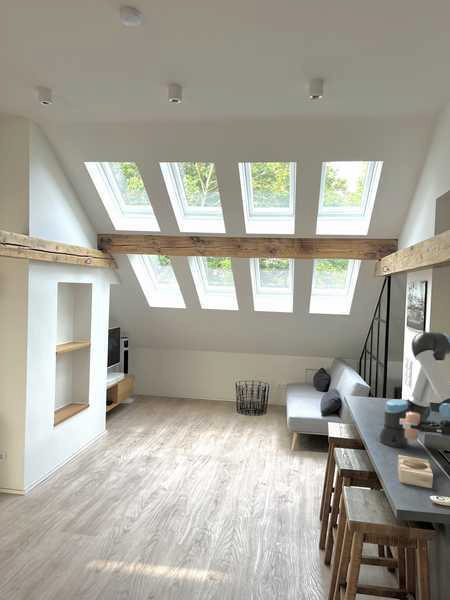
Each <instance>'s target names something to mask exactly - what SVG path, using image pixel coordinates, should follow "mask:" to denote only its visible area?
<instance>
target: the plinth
mask: <svg viewBox="0 0 450 600" xmlns="http://www.w3.org/2000/svg"><path fill="white" fill-rule="evenodd" d="M397 472H398V481H399V483H403V484H407V485H413V486H418V487H423V488H427V489H429V488H430V489H433V482H434V474H433V471H432V468H431V465H430V462H429V460H428V459H423V458H419V457H412V456H406V455H402V454H401V455H399V454H398V457H397Z"/></svg>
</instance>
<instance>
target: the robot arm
mask: <svg viewBox="0 0 450 600" xmlns="http://www.w3.org/2000/svg"><path fill="white" fill-rule="evenodd" d="M411 351H412V354H413V356H414V359H415V360H416V361H418V362H419V364H420V369H419V372H418V375H417V377H416V381H415V385H414V387H413V391H412V394H411V395H409V396H408V397H407V400H406V399H405V400H404V399H396V398H392V399H389V400H387V401H386V402H385V406H384V417H383V418H384V419H383V428H382V429H381V432H380V434H379V437H378V438H379V439H378V441H379V442H380V443H381V444H384V445H386V446H390V447H395V448H406V447H408V446H409V440H408V438H405V437H404V433H405V429H415V430H417V429H418V430H419V432H423V433H432V434H433V433H435V434H441V436H443V437H450V385H449V383H448V381H447V379H446V377H445V376H444V373H443V371H442V369H441V368H440V364H441V362H443V361H445V359H446V356H447V355H449V354H450V335H449V334H447V333H444V332H439V331H438V332H429V331H421V332H419V333H417V334H416V335H414V337H413V338H412V341H411ZM432 390H433V392H434V393H435V395H436V398H437V399H438V401H439V403H440V405H439V416H441V418H443V419H441V421H440V422H436V421H434V420H430V419H431V417H432V414H433V413H432V412H433V411H432V407H431V403H430V402H429V399H430V395H431V392H432ZM406 412H414V413H418V414H420V422H419V423H418V424H414V423H405V422H406ZM417 425H418V426H417Z"/></svg>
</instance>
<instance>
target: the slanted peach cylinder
mask: <svg viewBox="0 0 450 600" xmlns="http://www.w3.org/2000/svg"><path fill="white" fill-rule="evenodd" d="M419 422H420V414H418V413H414V412H406V422H405V423H414V424H418V423H419ZM417 426H418V425H417ZM419 432H420V430H418V429H417V430H415V429H405V433H404V437H405V438H408V439H409V440H414V441H415V440H418V439H419Z"/></svg>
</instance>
